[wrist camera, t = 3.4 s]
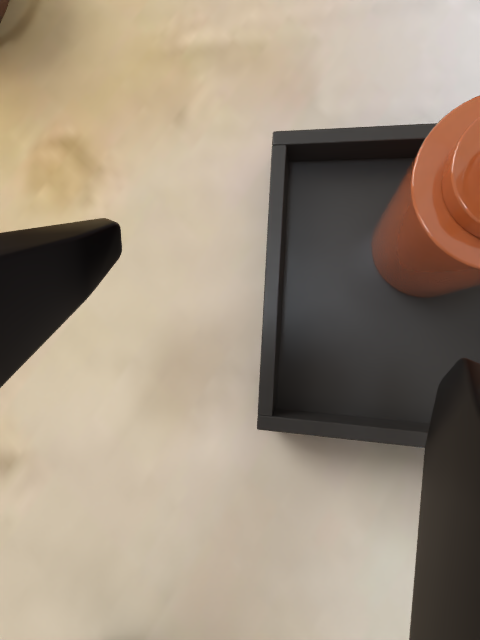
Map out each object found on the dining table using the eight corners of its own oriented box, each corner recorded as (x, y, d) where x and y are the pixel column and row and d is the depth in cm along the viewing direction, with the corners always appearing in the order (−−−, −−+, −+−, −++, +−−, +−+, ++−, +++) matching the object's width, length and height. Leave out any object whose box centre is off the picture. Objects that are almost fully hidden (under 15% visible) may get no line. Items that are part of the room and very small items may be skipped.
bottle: (483, 299, 21) (725, 256, 8) (368, 295, 22) (434, 253, 10) (487, 191, 21) (734, -8, 8) (373, 193, 22) (445, 21, 10)
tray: (549, 447, 20) (585, 465, 18) (263, 417, 24) (256, 429, 21) (562, 142, 21) (600, 114, 18) (277, 153, 24) (272, 131, 21)
